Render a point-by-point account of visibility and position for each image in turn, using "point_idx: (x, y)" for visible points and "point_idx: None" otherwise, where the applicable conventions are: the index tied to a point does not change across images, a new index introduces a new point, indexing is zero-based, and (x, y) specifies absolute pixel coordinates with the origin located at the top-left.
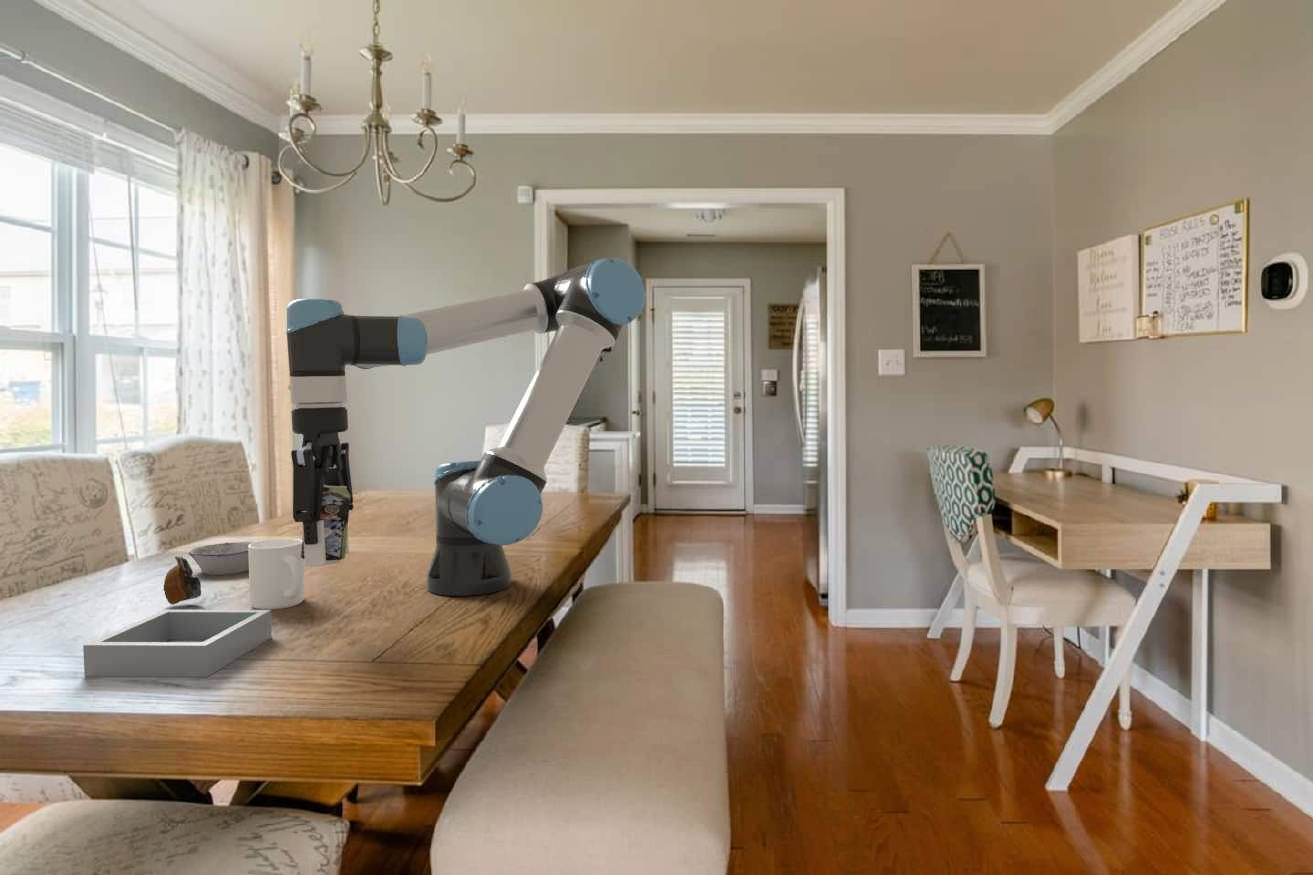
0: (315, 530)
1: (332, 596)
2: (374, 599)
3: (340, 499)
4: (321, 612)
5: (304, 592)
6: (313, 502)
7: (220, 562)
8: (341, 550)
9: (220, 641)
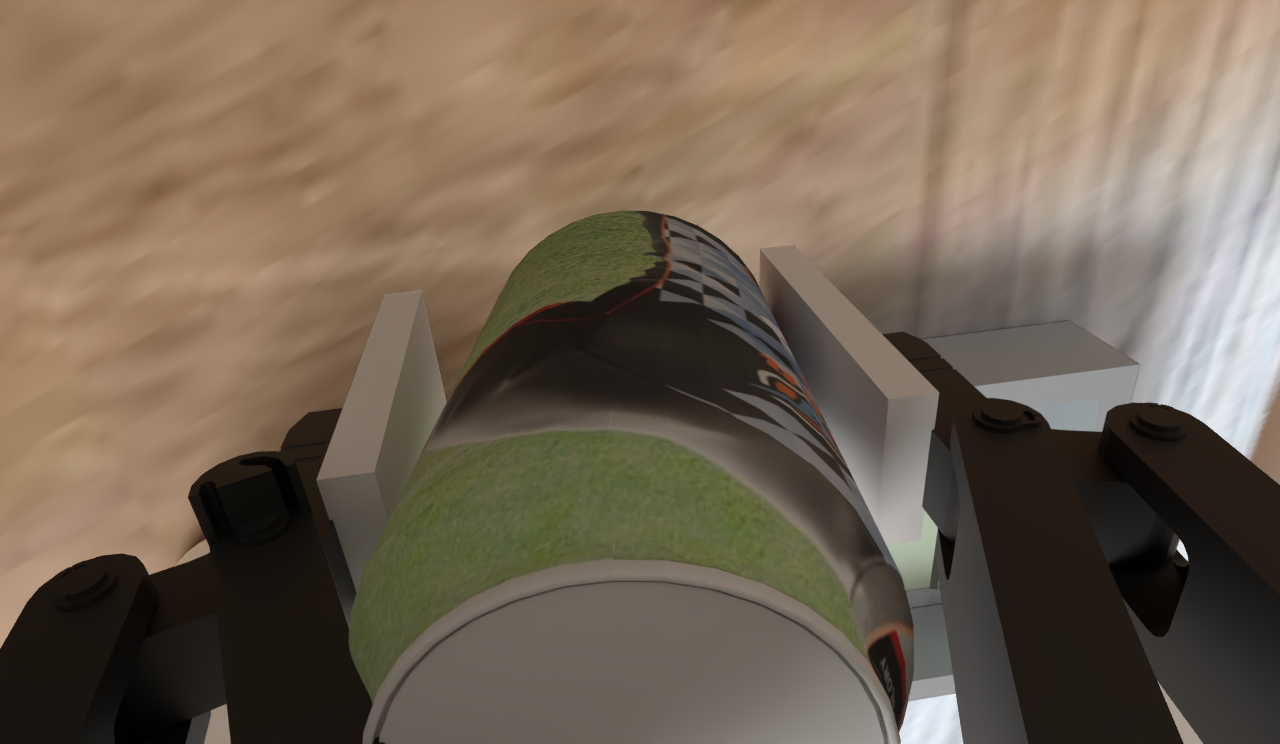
0: (933, 385)
1: (96, 464)
2: (57, 245)
3: (774, 433)
4: (348, 371)
5: (200, 552)
6: (1220, 512)
7: None
8: (655, 225)
9: (1051, 368)
